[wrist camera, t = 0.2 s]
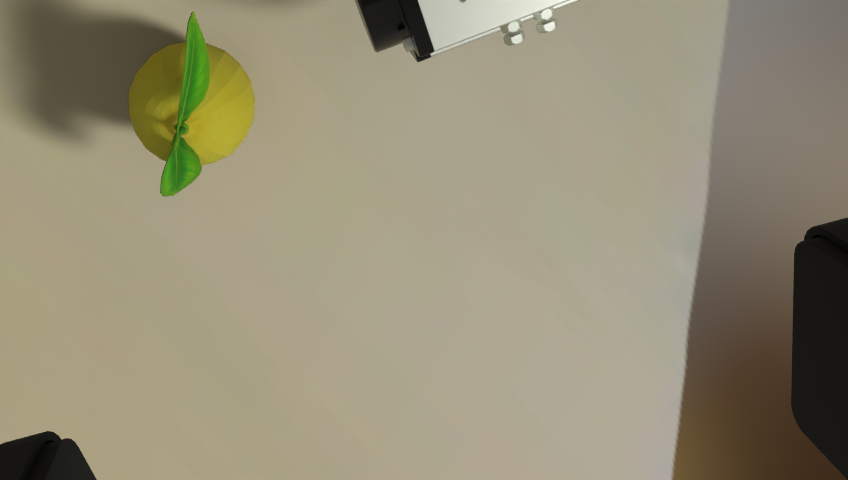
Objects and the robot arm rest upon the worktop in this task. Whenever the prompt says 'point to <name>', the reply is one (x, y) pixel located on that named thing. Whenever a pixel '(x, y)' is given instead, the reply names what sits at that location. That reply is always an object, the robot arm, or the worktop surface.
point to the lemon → (190, 107)
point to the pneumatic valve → (451, 22)
